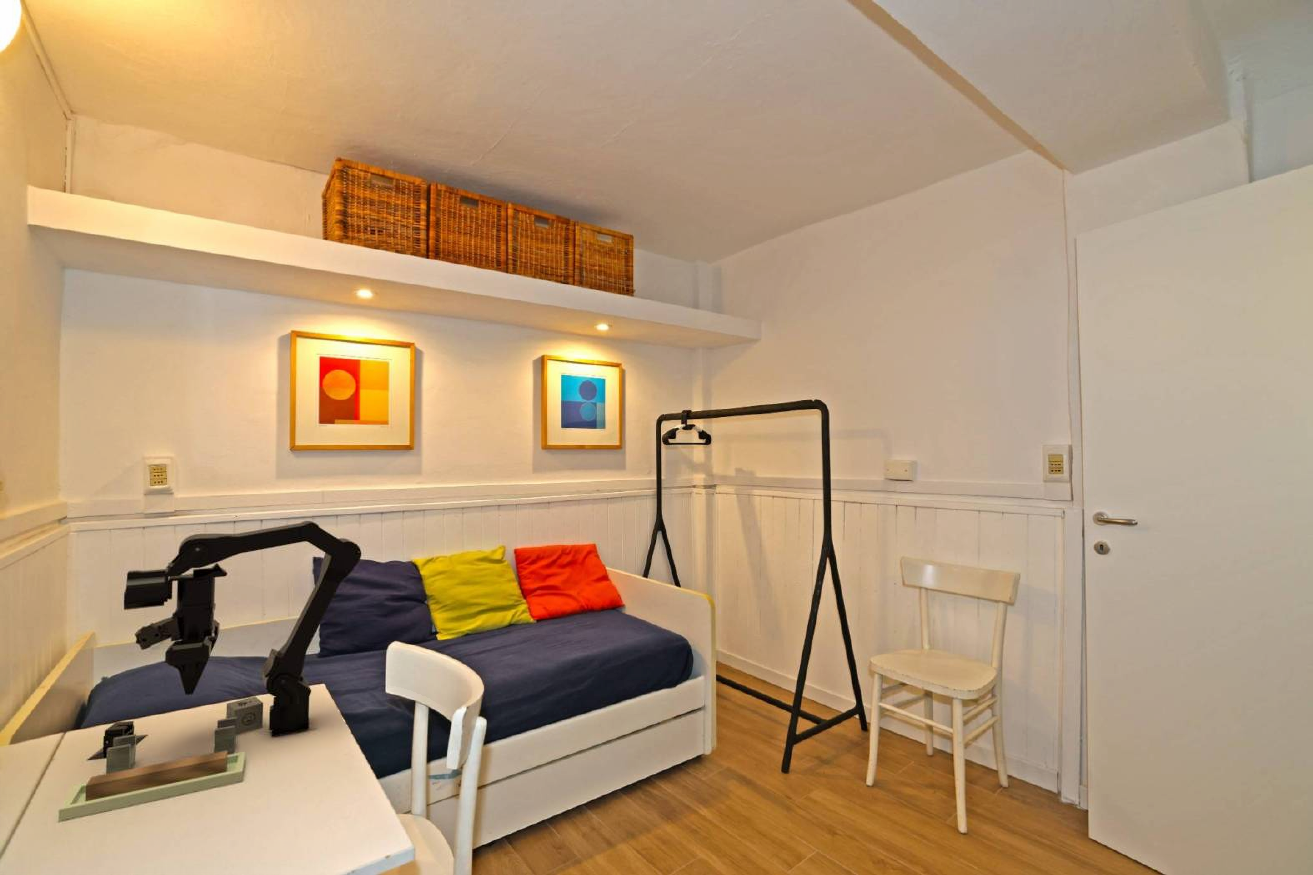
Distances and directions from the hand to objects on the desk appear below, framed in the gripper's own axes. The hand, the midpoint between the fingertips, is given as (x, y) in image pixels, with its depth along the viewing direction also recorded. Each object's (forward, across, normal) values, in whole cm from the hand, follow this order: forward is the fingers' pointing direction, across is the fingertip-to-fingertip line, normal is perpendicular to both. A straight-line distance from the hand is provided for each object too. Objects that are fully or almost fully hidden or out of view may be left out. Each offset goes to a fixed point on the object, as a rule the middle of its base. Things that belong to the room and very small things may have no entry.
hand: (193, 685), depth 115 cm
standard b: (+12, +3, -10) cm, 16 cm away
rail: (+12, +13, -2) cm, 18 cm away
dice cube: (+12, -7, +8) cm, 16 cm away
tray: (+12, +14, -2) cm, 18 cm away
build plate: (+13, -9, -12) cm, 20 cm away
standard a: (+12, +3, +6) cm, 14 cm away
